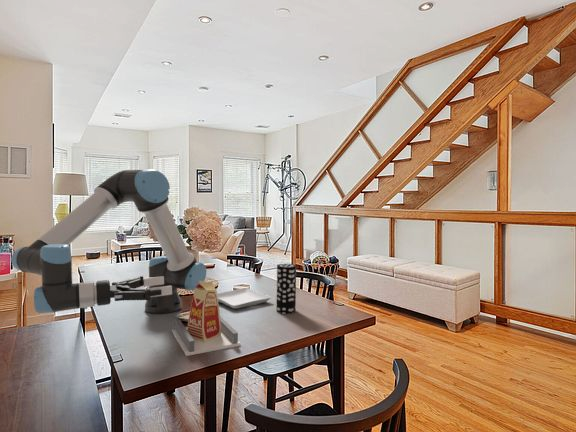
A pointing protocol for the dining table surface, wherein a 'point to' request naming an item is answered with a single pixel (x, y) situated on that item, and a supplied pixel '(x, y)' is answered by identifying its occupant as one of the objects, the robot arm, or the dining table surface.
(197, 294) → the milk carton
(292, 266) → the white-spotted black cylinder
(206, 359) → the dining table surface
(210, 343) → the rail board
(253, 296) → the salad plate
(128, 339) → the dining table surface
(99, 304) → the robot arm
